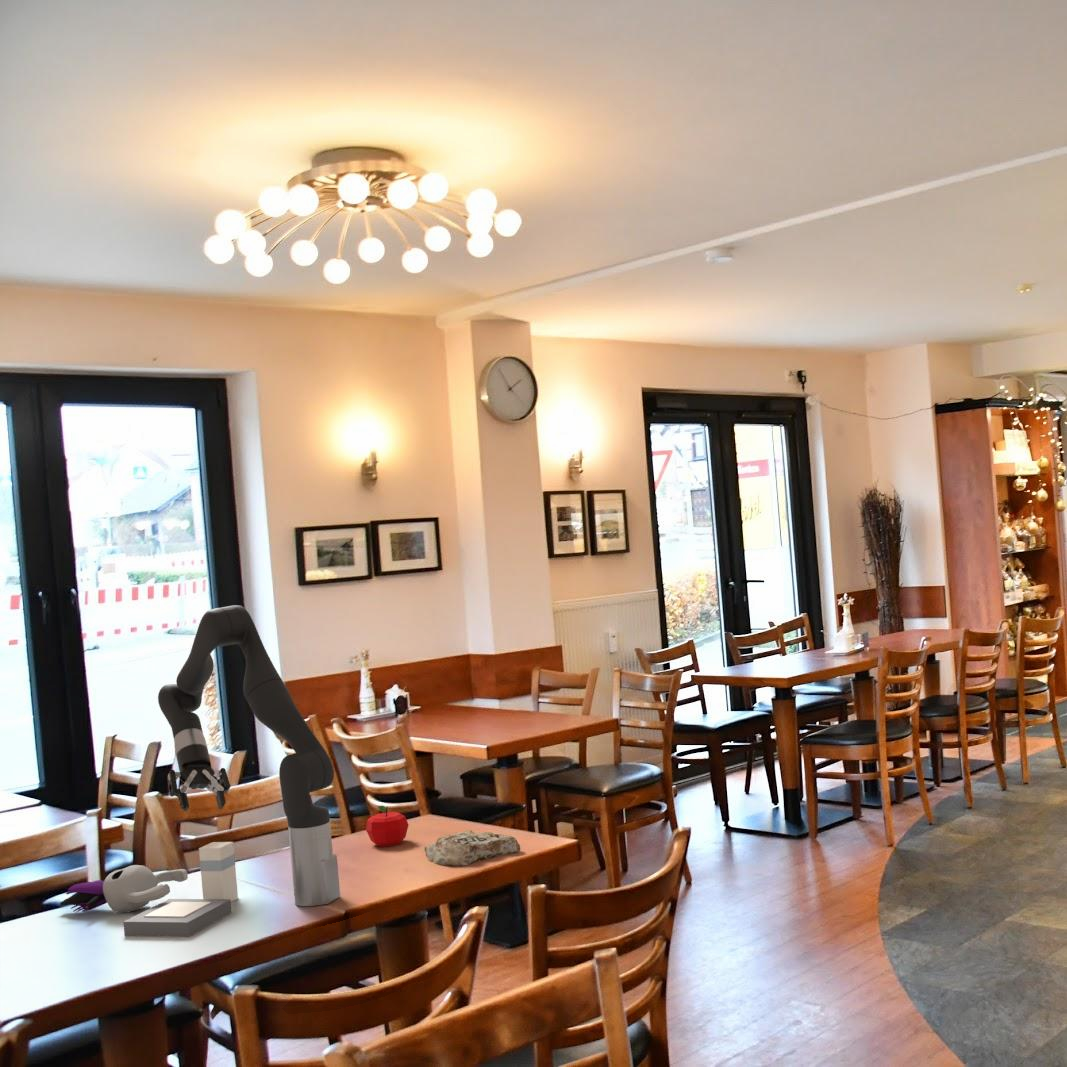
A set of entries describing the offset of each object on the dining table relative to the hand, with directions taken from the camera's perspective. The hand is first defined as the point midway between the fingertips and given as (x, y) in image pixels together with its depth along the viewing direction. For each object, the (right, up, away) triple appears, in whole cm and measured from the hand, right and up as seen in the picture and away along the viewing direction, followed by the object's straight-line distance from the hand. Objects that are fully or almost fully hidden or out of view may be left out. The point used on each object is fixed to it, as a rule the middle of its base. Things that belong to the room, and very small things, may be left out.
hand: (204, 808), depth 284 cm
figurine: (-16, -22, -10) cm, 29 cm away
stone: (+60, -15, +15) cm, 64 cm away
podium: (+1, -19, -25) cm, 32 cm away
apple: (+40, -17, +33) cm, 54 cm away
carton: (+7, -19, -10) cm, 23 cm away
